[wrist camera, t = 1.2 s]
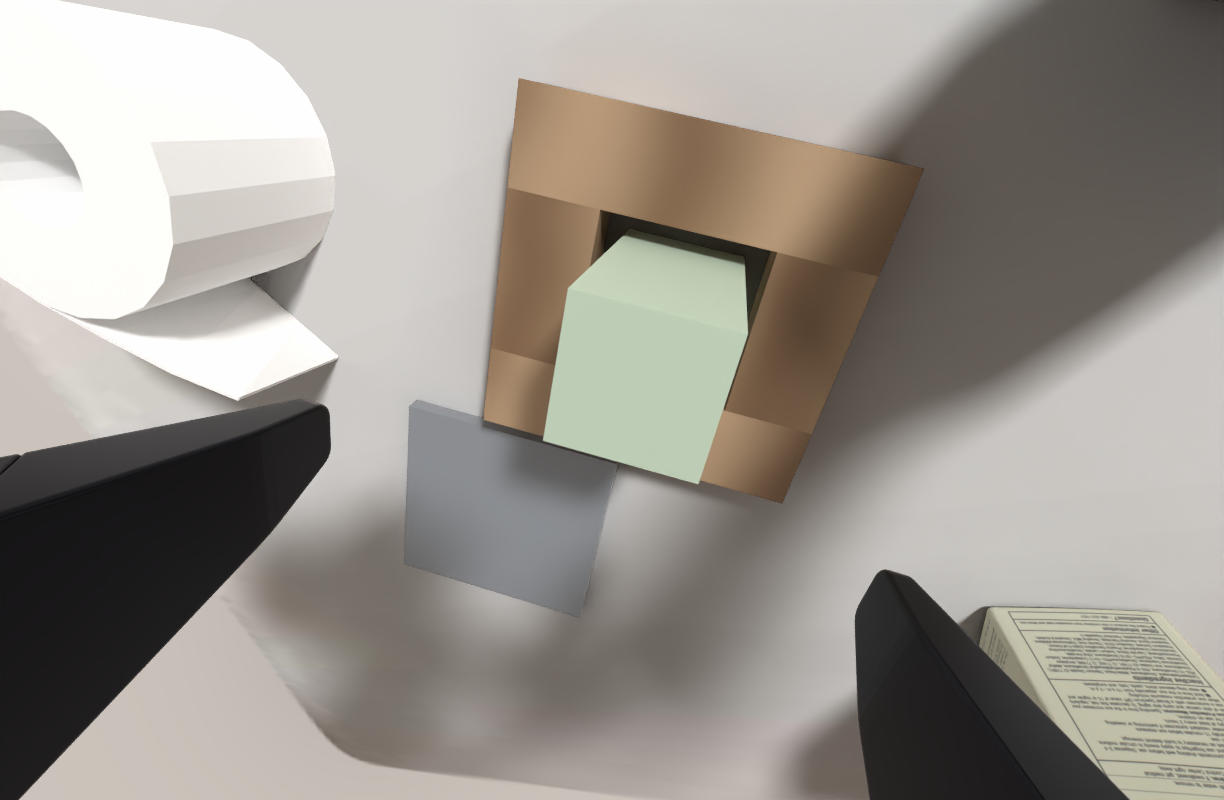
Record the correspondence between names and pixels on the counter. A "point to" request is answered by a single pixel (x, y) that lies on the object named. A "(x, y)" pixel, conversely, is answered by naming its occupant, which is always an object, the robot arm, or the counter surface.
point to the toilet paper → (159, 188)
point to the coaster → (503, 507)
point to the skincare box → (1119, 694)
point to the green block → (649, 354)
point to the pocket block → (706, 204)
